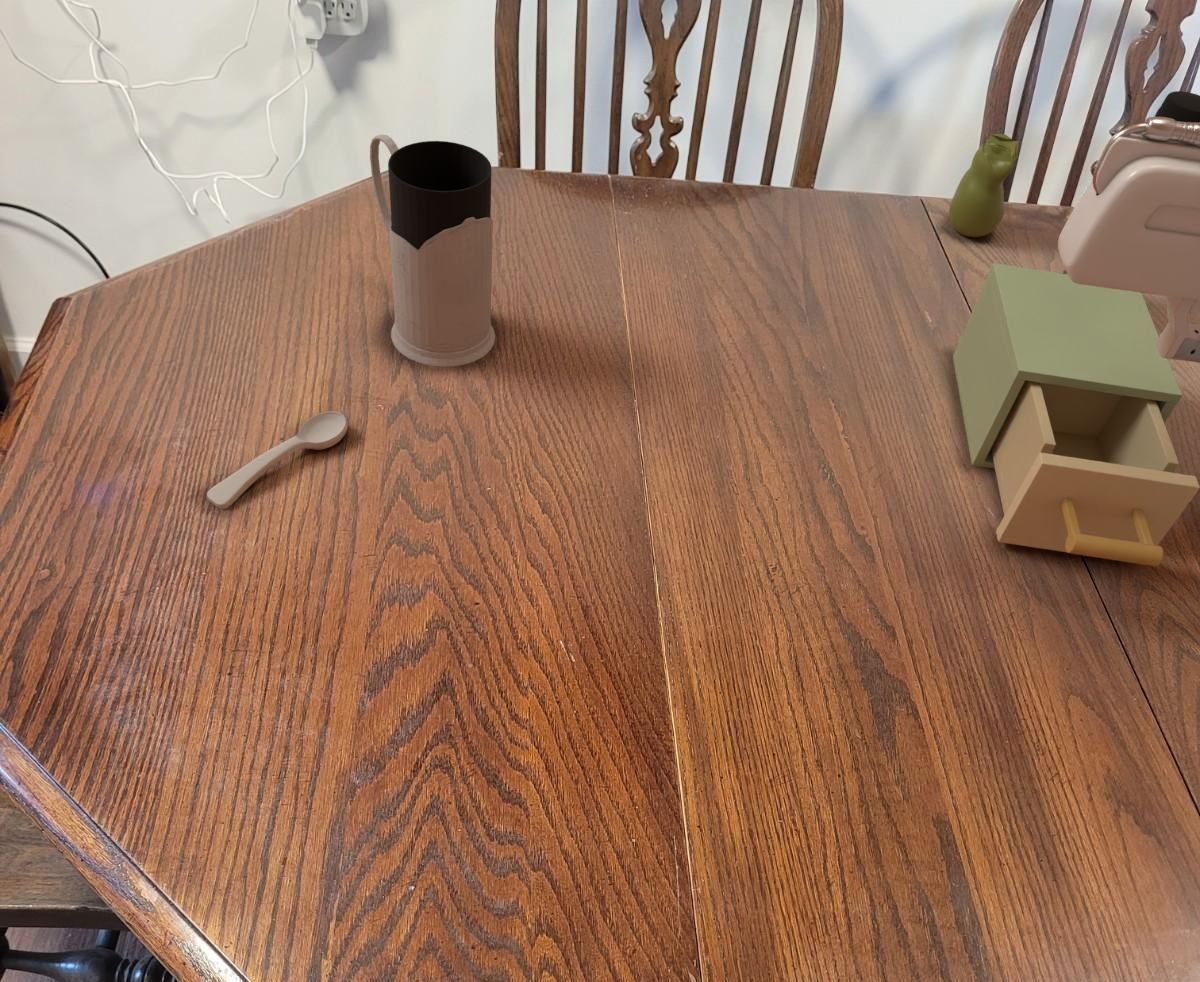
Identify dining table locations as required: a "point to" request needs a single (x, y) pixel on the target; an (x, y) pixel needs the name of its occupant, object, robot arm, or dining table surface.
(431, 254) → the glass holder
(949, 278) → the dining table surface
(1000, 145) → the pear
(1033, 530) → the drawer
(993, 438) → the cabinet
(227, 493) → the spoon
